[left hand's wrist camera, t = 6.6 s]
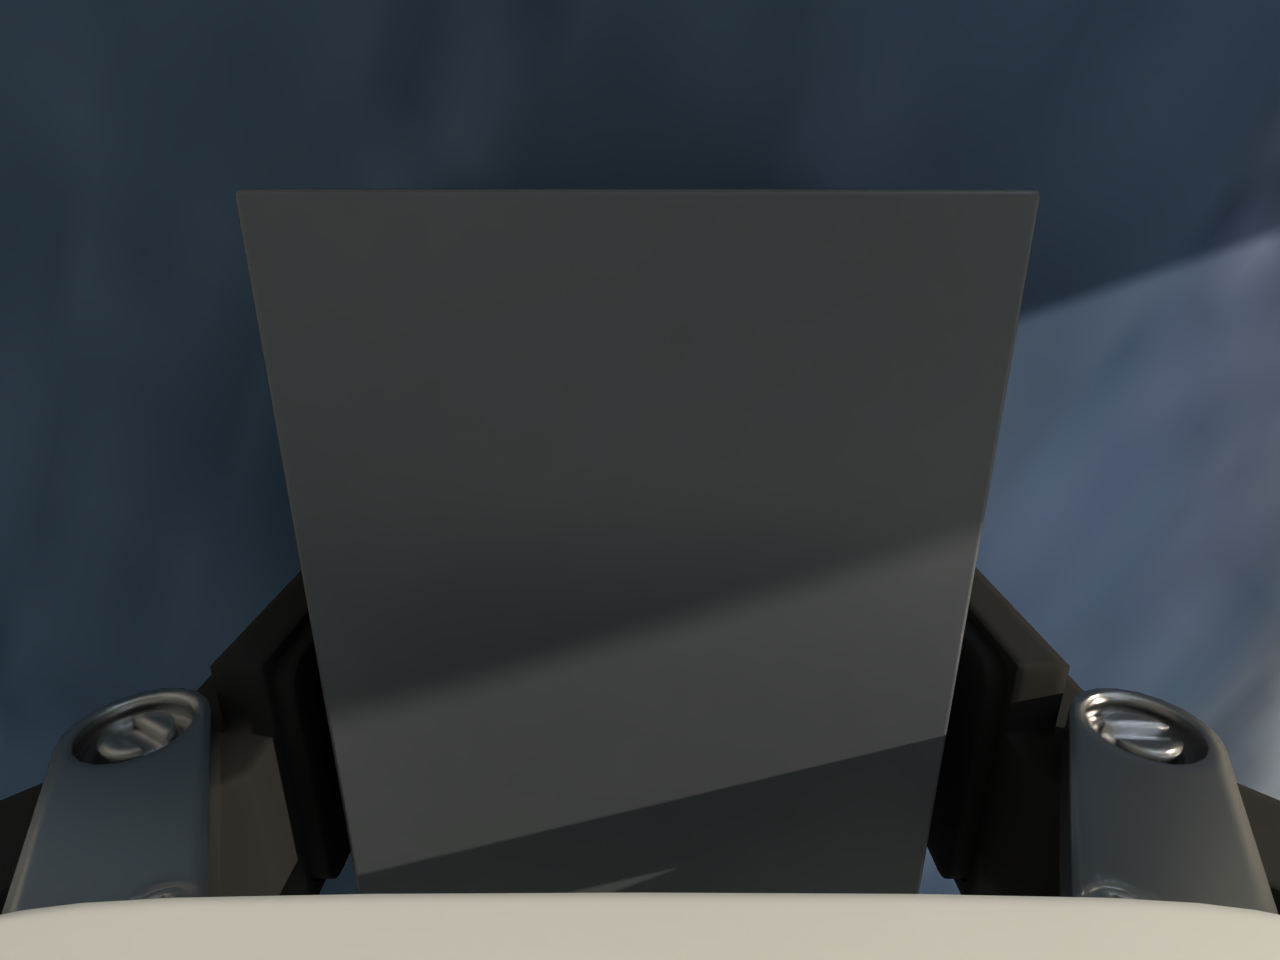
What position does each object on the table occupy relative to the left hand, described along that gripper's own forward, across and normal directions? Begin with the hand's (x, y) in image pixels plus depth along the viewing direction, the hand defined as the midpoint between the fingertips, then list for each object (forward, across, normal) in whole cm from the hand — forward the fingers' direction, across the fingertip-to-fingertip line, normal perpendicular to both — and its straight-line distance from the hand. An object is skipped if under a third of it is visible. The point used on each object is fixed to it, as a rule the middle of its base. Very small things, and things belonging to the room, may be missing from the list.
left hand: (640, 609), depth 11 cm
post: (+2, 0, -32) cm, 32 cm away
